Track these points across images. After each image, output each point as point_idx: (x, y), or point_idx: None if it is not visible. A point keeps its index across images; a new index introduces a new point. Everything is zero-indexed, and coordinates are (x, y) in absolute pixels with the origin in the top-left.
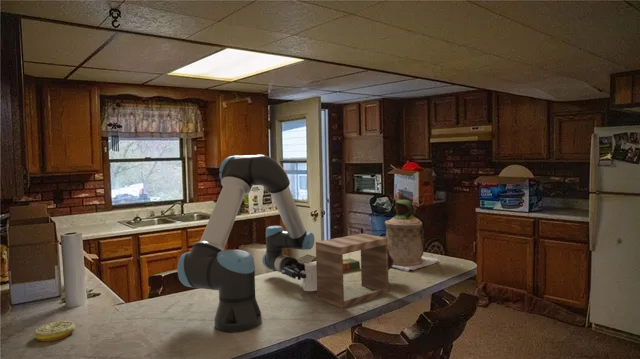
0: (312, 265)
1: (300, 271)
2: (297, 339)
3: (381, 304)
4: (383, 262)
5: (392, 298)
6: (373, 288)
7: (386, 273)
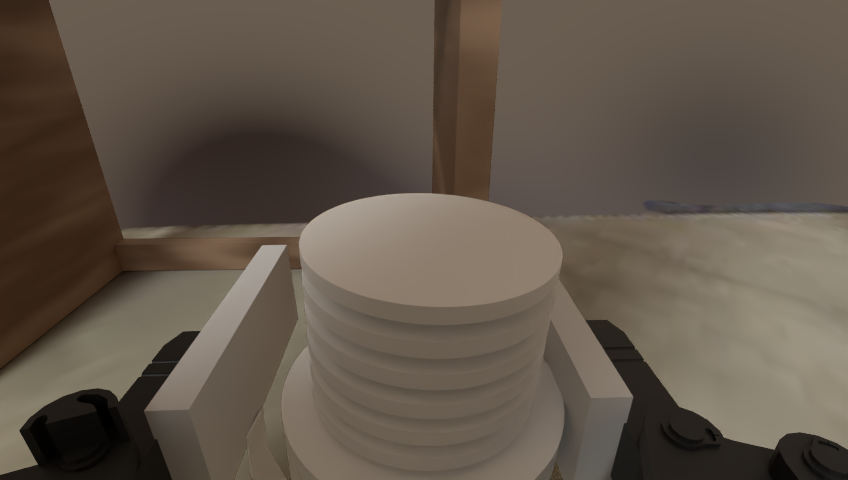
0: (453, 197)
1: (647, 413)
2: (706, 206)
3: (294, 226)
4: (60, 90)
5: (196, 235)
6: (56, 315)
7: (94, 155)
